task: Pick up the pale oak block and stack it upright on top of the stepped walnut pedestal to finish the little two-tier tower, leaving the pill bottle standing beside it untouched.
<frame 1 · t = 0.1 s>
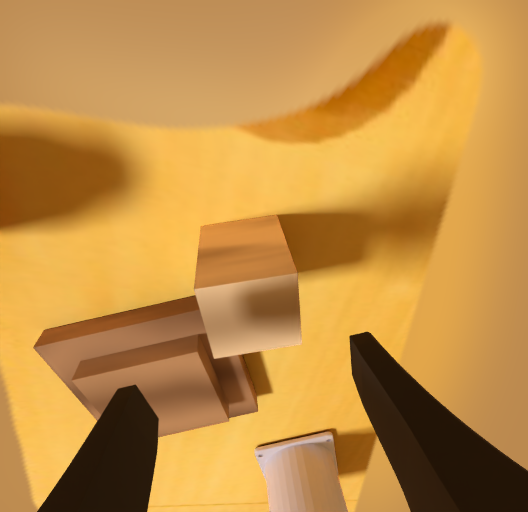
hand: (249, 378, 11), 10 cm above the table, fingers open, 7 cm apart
oak block: (244, 252, 20), on the table
walnut pedestal: (164, 366, 25), on the table
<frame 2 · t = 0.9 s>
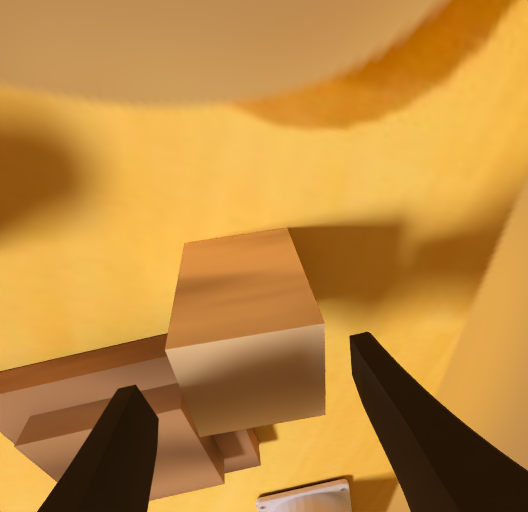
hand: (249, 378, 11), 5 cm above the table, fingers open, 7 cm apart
oak block: (243, 276, 15), on the table
walnut pedestal: (143, 414, 20), on the table
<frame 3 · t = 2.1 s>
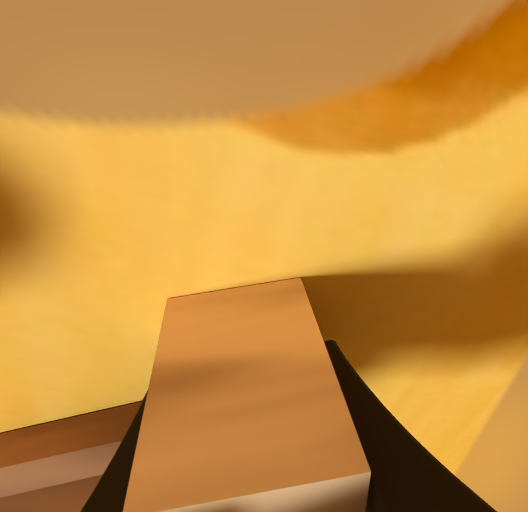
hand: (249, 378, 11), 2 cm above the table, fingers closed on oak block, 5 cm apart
oak block: (244, 335, 12), on the table, touching gripper
walnut pedestal: (128, 481, 17), on the table
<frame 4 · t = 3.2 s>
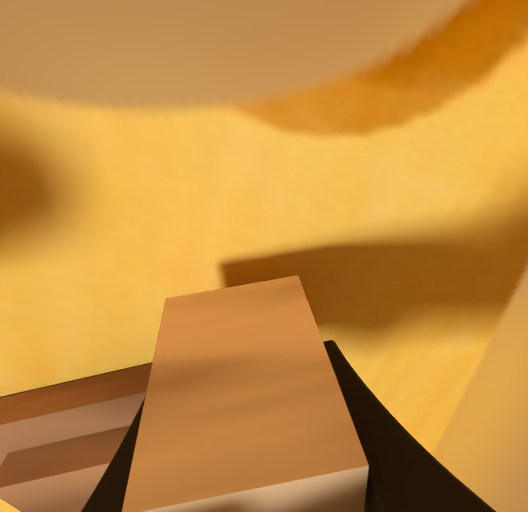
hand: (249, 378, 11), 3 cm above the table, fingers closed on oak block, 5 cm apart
oak block: (243, 333, 12), point 2 cm above the table, touching gripper
walnut pedestal: (135, 443, 18), on the table
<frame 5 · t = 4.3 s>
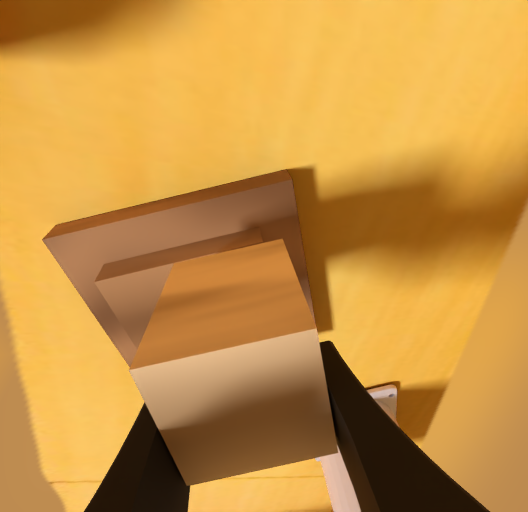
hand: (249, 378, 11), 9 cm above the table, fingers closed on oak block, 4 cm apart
oak block: (241, 297, 14), point 5 cm above the table, tilted 9°, touching gripper
walnut pedestal: (206, 287, 20), on the table
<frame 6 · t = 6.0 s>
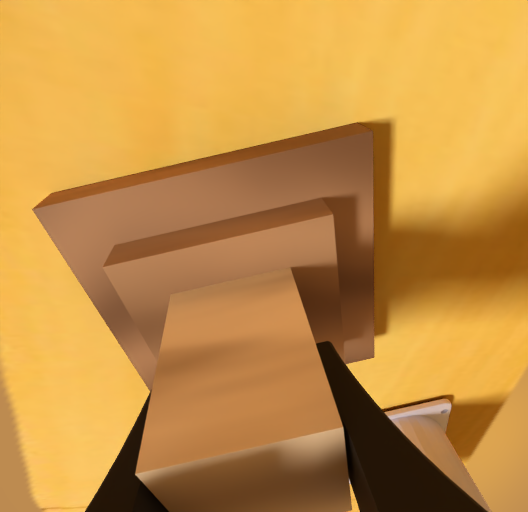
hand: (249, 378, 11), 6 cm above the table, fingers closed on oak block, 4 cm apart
oak block: (244, 324, 13), point 3 cm above the table, touching gripper, walnut pedestal
walnut pedestal: (240, 280, 16), on the table
when the fingers open (6 cm above the table, at t = 6.0 s): oak block stays where it is, resting on walnut pedestal.
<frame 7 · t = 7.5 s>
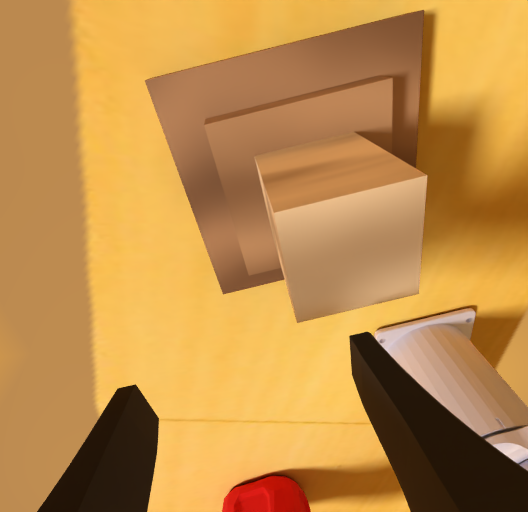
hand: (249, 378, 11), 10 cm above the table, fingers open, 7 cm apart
water bottle: (261, 487, 38), on the table
oak block: (310, 190, 15), point 3 cm above the table, touching walnut pedestal
walnut pedestal: (297, 171, 18), on the table
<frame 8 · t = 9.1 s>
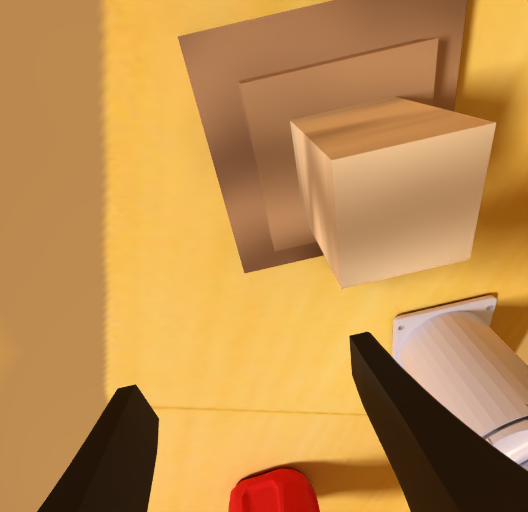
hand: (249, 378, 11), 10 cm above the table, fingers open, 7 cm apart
water bottle: (269, 481, 38), on the table
oak block: (344, 160, 15), point 3 cm above the table, touching walnut pedestal
walnut pedestal: (326, 144, 17), on the table
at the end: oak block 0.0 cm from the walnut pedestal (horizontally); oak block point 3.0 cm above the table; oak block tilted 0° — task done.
